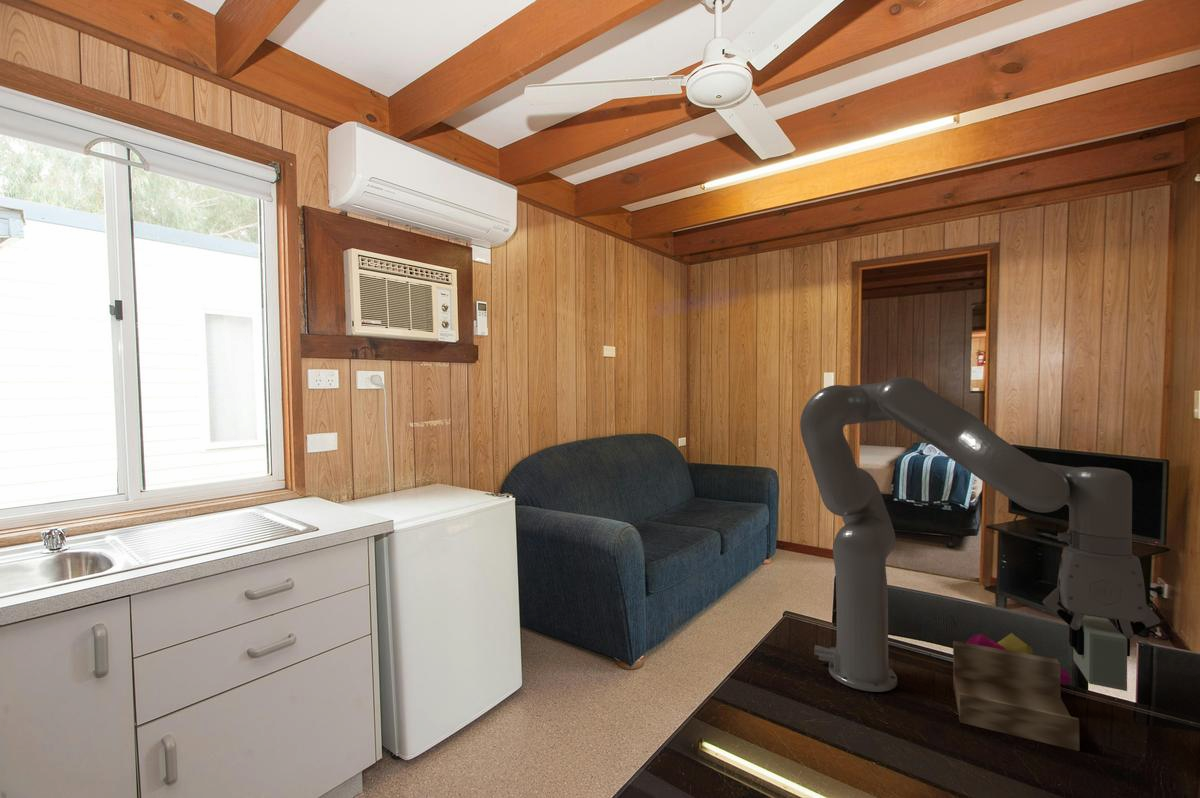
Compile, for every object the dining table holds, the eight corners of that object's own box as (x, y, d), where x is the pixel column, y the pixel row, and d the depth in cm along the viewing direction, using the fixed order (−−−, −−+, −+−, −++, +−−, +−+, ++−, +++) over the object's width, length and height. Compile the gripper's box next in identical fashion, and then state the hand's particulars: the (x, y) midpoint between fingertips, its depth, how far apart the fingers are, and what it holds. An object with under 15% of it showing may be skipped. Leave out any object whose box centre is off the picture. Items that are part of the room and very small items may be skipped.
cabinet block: (1089, 683, 85) (1089, 633, 85) (1073, 659, 93) (1073, 613, 93) (1127, 691, 83) (1127, 639, 83) (1107, 666, 91) (1107, 618, 91)
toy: (1081, 709, 99) (1083, 651, 103) (977, 672, 103) (981, 617, 106) (1044, 703, 108) (1046, 650, 112) (949, 669, 112) (954, 618, 116)
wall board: (960, 722, 94) (959, 671, 94) (953, 686, 106) (953, 640, 106) (1079, 751, 86) (1078, 695, 86) (1057, 708, 98) (1057, 659, 98)
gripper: (1038, 542, 88) (1038, 652, 89) (1182, 557, 80) (1181, 679, 80) (1029, 532, 95) (1028, 635, 95) (1161, 545, 87) (1160, 658, 87)
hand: (1098, 654), depth 88 cm, fingers closed on cabinet block, 4 cm apart
